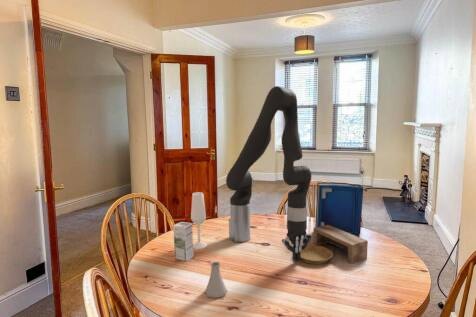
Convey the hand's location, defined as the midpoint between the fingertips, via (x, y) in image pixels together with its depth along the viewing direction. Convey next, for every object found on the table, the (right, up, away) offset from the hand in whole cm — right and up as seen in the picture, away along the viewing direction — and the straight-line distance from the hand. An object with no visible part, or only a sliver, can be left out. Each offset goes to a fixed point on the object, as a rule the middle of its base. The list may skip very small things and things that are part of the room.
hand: (296, 260), depth 121 cm
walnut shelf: (+20, +1, +11) cm, 23 cm away
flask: (-30, -4, -20) cm, 36 cm away
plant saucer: (+8, -1, +5) cm, 9 cm away
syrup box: (-45, -1, +6) cm, 45 cm away
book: (+27, +3, +31) cm, 41 cm away
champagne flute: (-40, 0, +19) cm, 44 cm away
